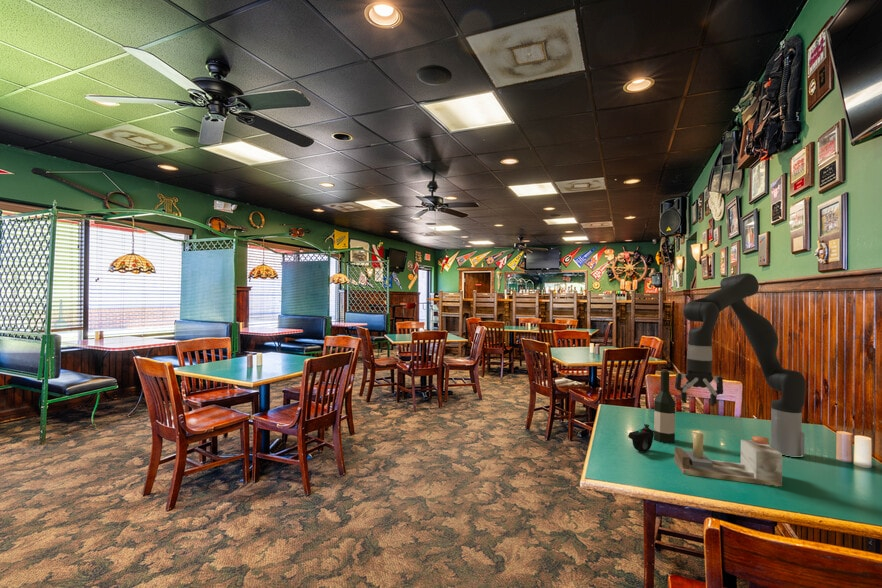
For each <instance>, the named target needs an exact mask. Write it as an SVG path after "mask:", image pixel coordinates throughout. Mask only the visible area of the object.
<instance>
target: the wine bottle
mask: <svg viewBox="0 0 882 588" xmlns="http://www.w3.org/2000/svg"><path fill="white" fill-rule="evenodd" d="M653 404H654V405H653V407H654V409H653V410H654V413H653V415H654V417H653V420H654V421H653V426H654V427H653V431H654V436H653V440H654V441H655V440H656V441H655V442H658V441H659V442H658V443H660V442H663V443H662V444H666V443H673V444H675V442H676V400H675V399H674V397H673V396H672V393H670V371H669V370H668V369H664V368H663V369H661V370H660V391H659V392H658V393H657V395H656V396H655V397H654V403H653Z"/></svg>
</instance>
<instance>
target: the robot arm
mask: <svg viewBox="0 0 882 588" xmlns="http://www.w3.org/2000/svg"><path fill="white" fill-rule="evenodd" d="M719 283H720V289H717V290H715V291H713V292H711V293H709V294H708V295H706V296H703V297H701V298H697V299H693V300H691V301H688V302H687V303H686V304H685V305H684V307H683V309H682V314H683V317H684V318H685V319H686V320H687V321H689V322H695V323H696V322H699V323H702V324H701V326H700V327H695V328H691V329H688V330H689V331H688V341H687V343H688V344H687V350H686V351H687V352H686V372H685V373H680V372H676V373H675V382H674V383H675V385H674V388H675V389H676V390H677V391H679V392H680V400H681V402H682V403H683V404H687V395H688V394H687V391H688V390H689V389H691V388H692V387H694V388H701V389H702V388H703V389H704V388H706V389H707V390H708V391H709V393H710V395H709V396H710V397H709V405H710V406H712V407H715V405H717V396H718V395H723V394H724V381H723V380H724V379H723V377H722V376H720V375H715V376H713V375H712V374H713V357H714V356H713V347H712V344H713V333H714V329H715V327H716V323H717V321H718V319H719V315H720V312H721V311H724V310H725V309H726V308H728V307H729V306H730V307H731V309H732V310H733V312H734V314H735V315H736V317H737V320H738V321H739V323H740V325H741V327H742V330H743V332H744V334H745V336H746V338H747V340H748V342H749V344H750V346H751V347H752V349H753V352H754V354H755V356H756V358H757V361H758V362H759V365H760V368H761V371H762V374H763V377H764V379H765V381H766V383H767V384H766V385H768V386H769V388H771V389H772V390H774V391H777V392H781V397H780V398H779V399H774V400H772V401H771V403H770V404H771V405H770V409H771V410H770V446H771V447H773V448H774V449H775V450H777V451H778V452H780V453H781V454H782V455H789V456H801V455H803V456H804V457H805V432H804V431H802V430H803V426H802V424H803V422H802V421H803V419H802V418H803V416H802V415H803V414H802V413H803V407H804V405H805V403H806V401H805V399H806V390H807V389H806V388H807V387H806V386H807V382H806V378H805V376H804V375H803V373H801V372H799V371H797V370H793V369H787V368H784V367H783V366H782V365H781V363H780V362H779V359H778V357H777V350H778V346H779V337H778V334H777V332H776V330H775V328H774V325H773V324H772V323H771V321H769V320H768V318H766V317H764V316H763V315H761V314H760V313H758V312H756V311H755V310H753V309H752V308H751V307H750V306H748V304H746V302H745V301H744V299H745V298H749V297H752V296H755V295H756V294H757V293H758V291H759V290H760V289H759V287H760V284H759V281H758V279H757V277H756V276H755V275H754V274H752V273H749V272H748V273H747V272H746V273H738V274H736V275H735V274H734V275H731V276H726V277H723V278H722V279H721V280H720V282H719ZM684 378H686V382H685V383H684V384H683V385H682V381H683V380H684ZM713 380H714V382H715V383H716V389H714V387H713V386H712V384H711V383H712V381H713Z"/></svg>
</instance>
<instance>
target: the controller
mask: <svg viewBox="0 0 882 588" xmlns="http://www.w3.org/2000/svg"><path fill="white" fill-rule="evenodd" d="M627 438H628V439H630V440H632V445H633V448H634V449H635V450H637V451H638V452H641V453H646V452H648V451H649V450H650V449H651V447H652V445H653V440H654V429H651V428H650V424H646V423H645V424H644V423H643V427H642V428H640V429H638V430H635V431H631V432H629V433H628V435H627Z"/></svg>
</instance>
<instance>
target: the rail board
mask: <svg viewBox="0 0 882 588" xmlns="http://www.w3.org/2000/svg"><path fill="white" fill-rule="evenodd" d="M684 451H685V450H684V449H683V448H682V447H679V446H675V447H674V457H673V462H674V463H675V464H676V466H677V467H678V469H679V470H680V472H681V473H682V474H683V475H685V476H686V475H688V476H695V477H703V478H711V479H717V480H724V481H725V480H727V481H731V482H740V483H750V484H755V483H756V484H758V485H763V484H765V485H764V486H770V485H775V486H774V487H778V486H782V487H783V456H782V454H781V453H780V452H778V451H777V450H775V449H774V448H773V447H771V444H770V445H769V444H768V445H765V444H758V443H755V442H753V441H752V440H751V439H740V462H733V461H726V460H718V459H717V460H715V459H709V460H710V461H711V462H712V463H713V468H707V467H699V466H692V464H691V463H690V462H689V457H688V455H687V454H686V453H685V452H684Z"/></svg>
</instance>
